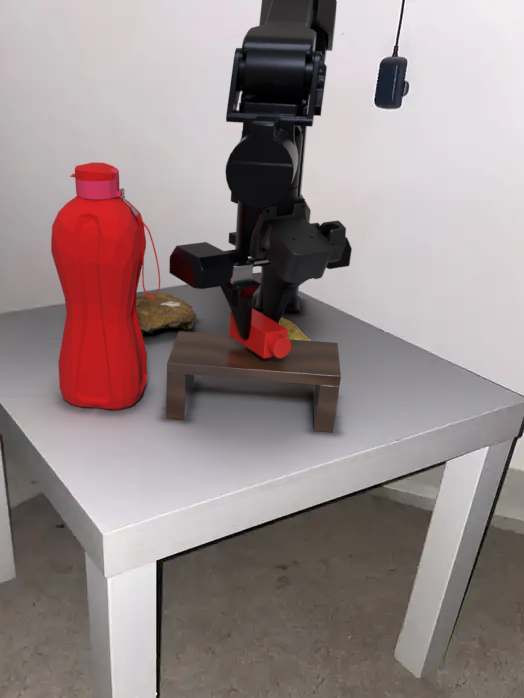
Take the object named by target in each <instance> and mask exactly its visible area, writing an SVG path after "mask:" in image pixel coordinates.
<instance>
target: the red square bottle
mask: <svg viewBox="0 0 524 698" xmlns="http://www.w3.org/2000/svg"><path fill="white" fill-rule="evenodd" d="M228 331H229V332H228V335H229V336H231V337H232V338H234V339H235V340H237V341H238V342H240V343H241V344H243V345H244V346H246V347H247V348H249V349H250V350H252V351H253V352H255V353H256V354H258V355H259V356H261V357H262V358H269V357H274V356H275V357H277V358H283V357H285V356H287V355H288V353H289V352H290V350H291V341H290V340H289V339H288V338H287V336H288V329H287V328H285V327H283V326H282V325H280V324H278V323H276V322H275V321H273V320H271V319H270V318H268V317H266V316H265V315H263V313H261V312H260V311H258V310H255V308H253V307H252V320H251V330H250V335H249V339H247V340H245V339H243V338H242V337H241V336H240V333H239V331H238V328H237V325H236V323H235V320H234V317H233V315H232V312H231V311H230V314H229V329H228Z"/></svg>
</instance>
